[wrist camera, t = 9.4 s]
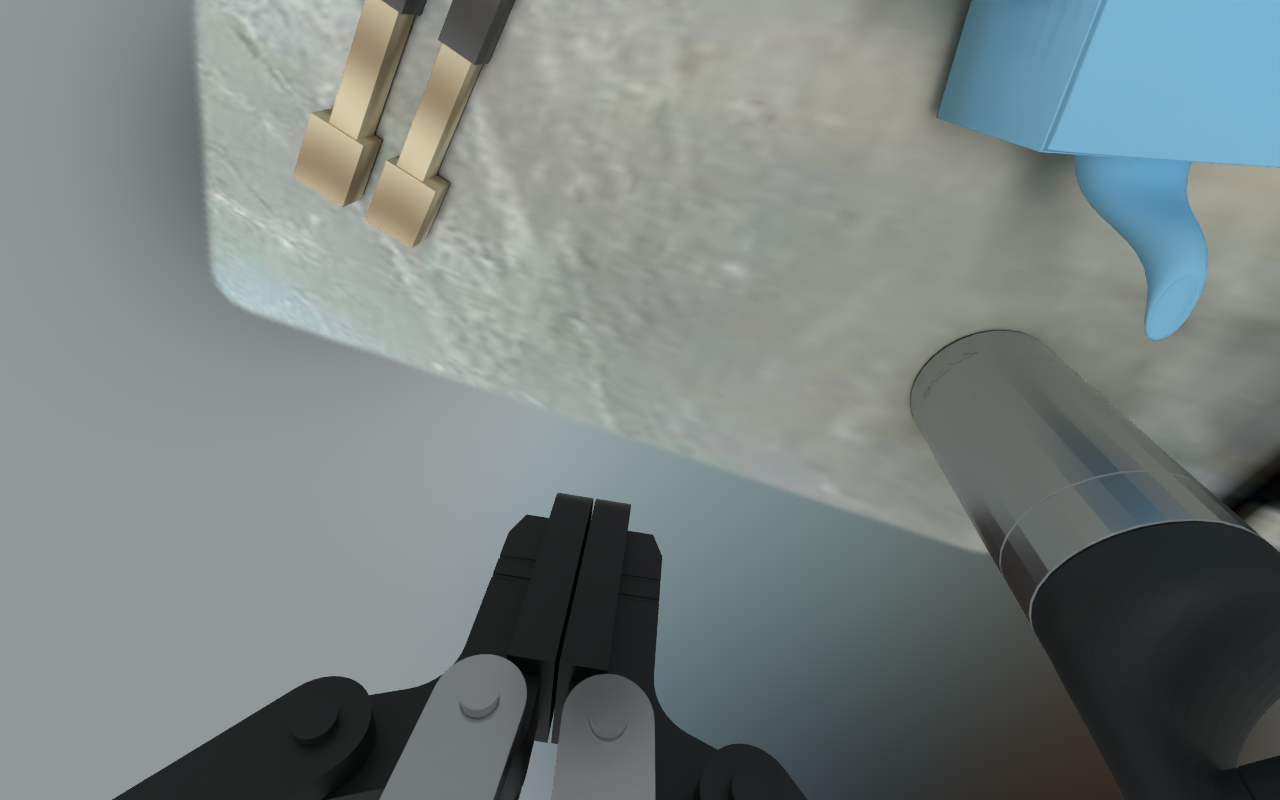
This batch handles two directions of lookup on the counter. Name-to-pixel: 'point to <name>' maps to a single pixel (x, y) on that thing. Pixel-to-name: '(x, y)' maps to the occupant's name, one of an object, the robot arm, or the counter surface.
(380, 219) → the tong arm
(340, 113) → the tongs frame
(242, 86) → the counter surface
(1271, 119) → the teakettle
